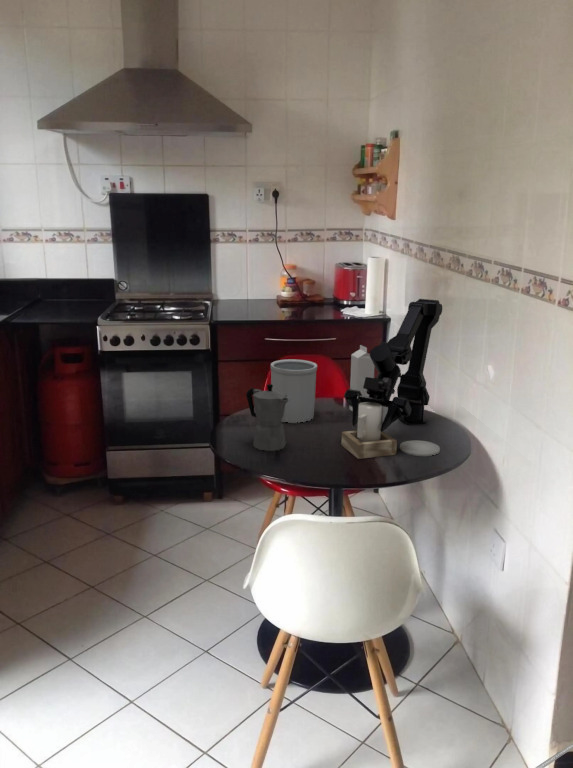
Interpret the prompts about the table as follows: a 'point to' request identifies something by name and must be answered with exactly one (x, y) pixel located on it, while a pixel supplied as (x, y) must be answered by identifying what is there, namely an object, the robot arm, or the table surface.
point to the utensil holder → (295, 388)
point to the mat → (419, 448)
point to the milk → (360, 370)
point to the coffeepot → (268, 417)
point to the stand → (368, 445)
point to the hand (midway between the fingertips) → (367, 428)
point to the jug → (369, 422)
